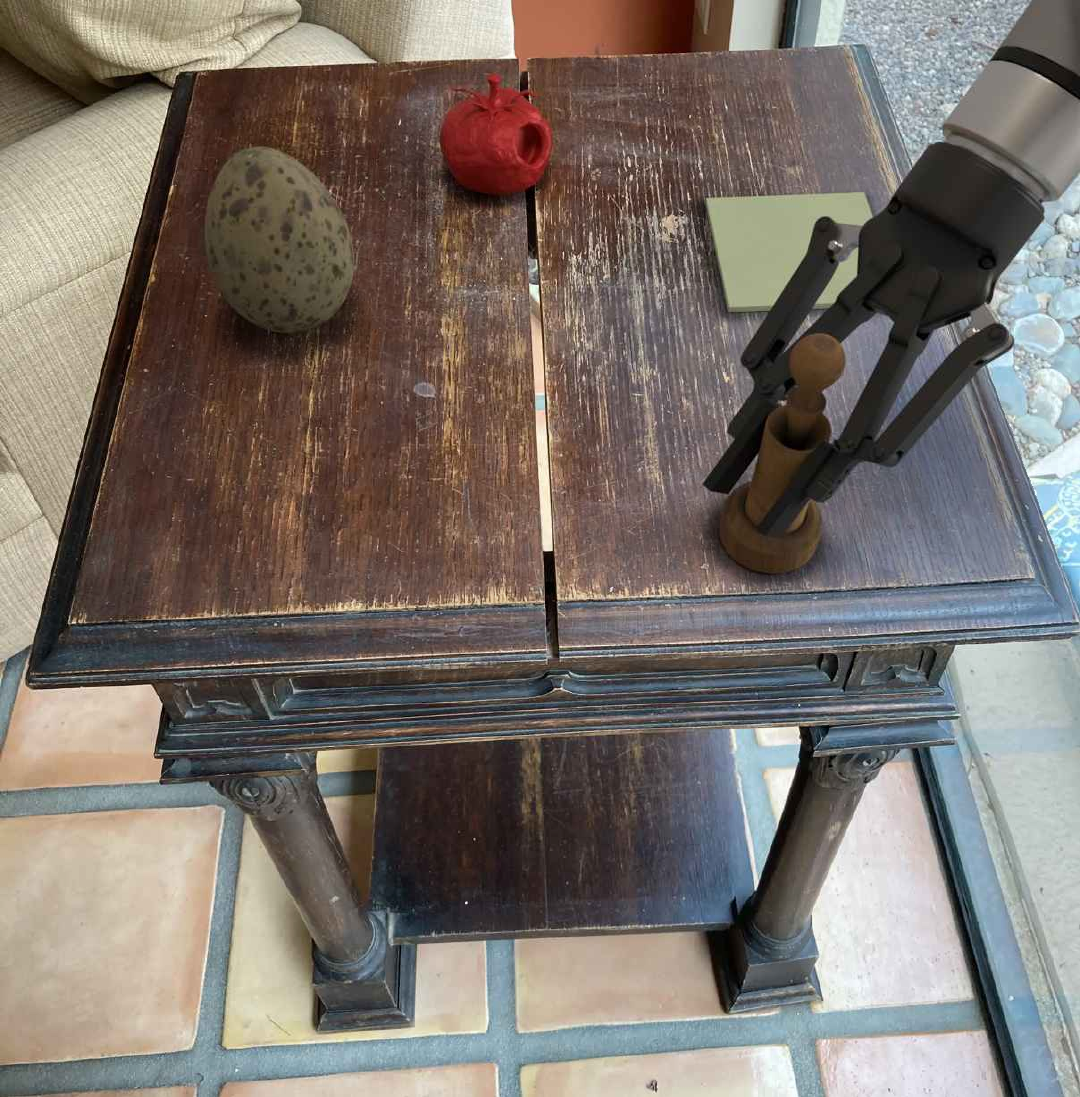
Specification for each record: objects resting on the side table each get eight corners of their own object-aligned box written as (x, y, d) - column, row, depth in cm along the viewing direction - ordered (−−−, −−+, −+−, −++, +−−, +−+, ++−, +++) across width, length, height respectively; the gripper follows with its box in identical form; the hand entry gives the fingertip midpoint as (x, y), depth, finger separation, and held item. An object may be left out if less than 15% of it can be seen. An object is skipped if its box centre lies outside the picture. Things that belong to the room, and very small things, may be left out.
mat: (900, 305, 85) (902, 300, 84) (727, 312, 84) (728, 306, 84) (862, 197, 93) (864, 191, 92) (704, 203, 92) (705, 197, 92)
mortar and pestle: (816, 503, 73) (882, 308, 58) (816, 580, 70) (887, 392, 55) (720, 493, 74) (762, 297, 59) (716, 569, 70) (759, 380, 55)
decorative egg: (210, 304, 86) (152, 140, 74) (329, 256, 89) (293, 92, 77) (264, 384, 81) (211, 222, 68) (388, 330, 84) (359, 166, 71)
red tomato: (437, 208, 93) (426, 112, 85) (449, 141, 98) (440, 45, 91) (549, 211, 92) (548, 115, 84) (555, 143, 98) (555, 47, 90)
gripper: (1135, 266, 57) (865, 596, 65) (889, 129, 65) (672, 440, 72) (1124, 227, 51) (826, 598, 58) (852, 81, 58) (620, 426, 66)
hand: (742, 510), depth 65 cm, fingers closed on mortar and pestle, 4 cm apart
